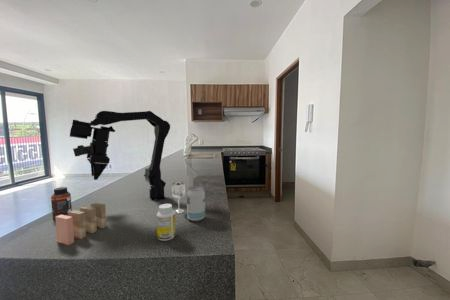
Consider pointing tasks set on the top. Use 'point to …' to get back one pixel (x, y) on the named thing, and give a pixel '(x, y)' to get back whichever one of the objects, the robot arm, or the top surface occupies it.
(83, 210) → the domino
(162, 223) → the supplement bottle
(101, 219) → the domino
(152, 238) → the top surface
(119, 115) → the robot arm
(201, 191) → the beverage can
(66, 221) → the domino
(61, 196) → the supplement bottle
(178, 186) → the wineglass
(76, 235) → the domino
